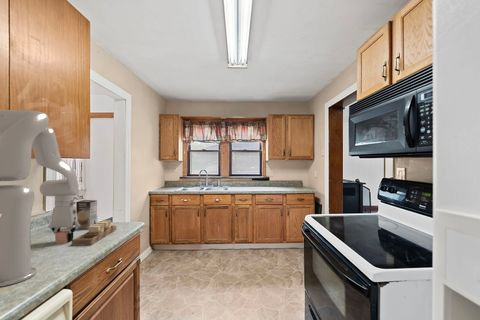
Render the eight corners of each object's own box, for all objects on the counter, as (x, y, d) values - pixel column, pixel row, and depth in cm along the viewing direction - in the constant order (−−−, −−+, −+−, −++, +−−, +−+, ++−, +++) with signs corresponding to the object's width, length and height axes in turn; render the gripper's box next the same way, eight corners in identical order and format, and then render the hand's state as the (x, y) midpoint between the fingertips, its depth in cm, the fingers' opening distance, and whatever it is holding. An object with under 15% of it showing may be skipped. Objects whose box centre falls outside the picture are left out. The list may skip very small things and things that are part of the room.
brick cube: (66, 243, 117) (66, 232, 117) (55, 243, 117) (55, 233, 117) (72, 239, 122) (72, 229, 122) (62, 239, 122) (62, 230, 122)
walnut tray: (91, 245, 114) (91, 232, 114) (71, 245, 113) (71, 232, 113) (116, 229, 139) (116, 219, 139) (100, 230, 138) (100, 219, 138)
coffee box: (75, 229, 141) (75, 201, 141) (83, 226, 148) (83, 199, 148) (90, 229, 140) (89, 201, 140) (97, 226, 147) (97, 200, 147)
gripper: (86, 202, 123) (86, 238, 123) (52, 203, 123) (52, 238, 123) (77, 205, 116) (77, 243, 116) (40, 205, 115) (40, 243, 115)
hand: (64, 240), depth 119 cm, fingers closed on brick cube, 5 cm apart
